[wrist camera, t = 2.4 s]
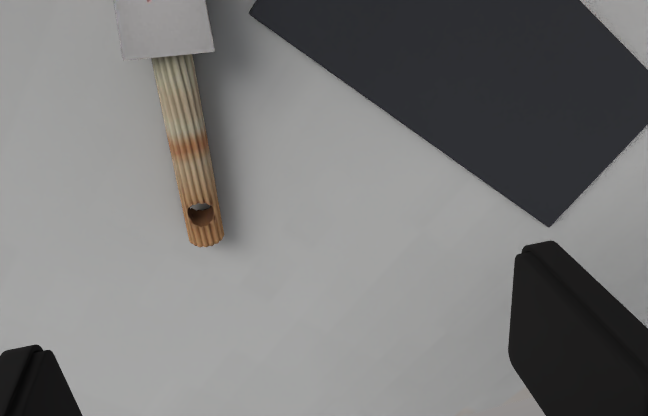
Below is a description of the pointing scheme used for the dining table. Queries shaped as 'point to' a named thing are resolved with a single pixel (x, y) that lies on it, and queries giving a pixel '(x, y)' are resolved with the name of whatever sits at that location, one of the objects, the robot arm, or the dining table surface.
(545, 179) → the placemat
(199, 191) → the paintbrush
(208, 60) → the dining table surface
